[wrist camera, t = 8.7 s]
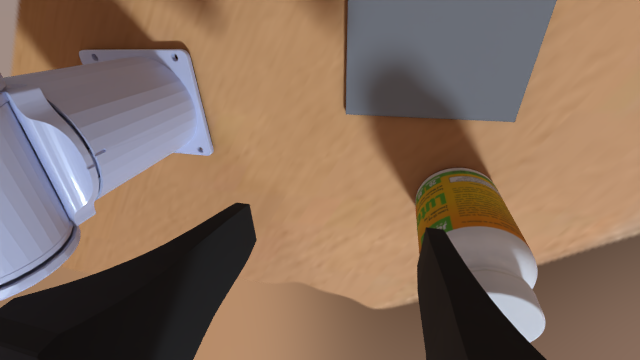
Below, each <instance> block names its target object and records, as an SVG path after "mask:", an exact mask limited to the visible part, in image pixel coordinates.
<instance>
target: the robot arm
mask: <svg viewBox="0 0 640 360" xmlns="http://www.w3.org/2000/svg"><path fill="white" fill-rule="evenodd" d="M175 54H176V55H177V57H178V60H177V59H176V57H175ZM79 57H80V59H81V62H82V64H83V65H78V66H72V67H66V68H60V69H54V70H48V71H42V72H36V73H30V74H23V75H17V76H11V77H5V78H3V77H2V75H1V73H0V301H1V300H3V299H5V298H8V297H11V296H13V295H15V294H17V293H19V292H22V291H24V290H26V289H27V288H29V287H31V286H33V285H35V284H36V283H38V282H39V281H41V280H42V279H44V278H45V277H47V276H48V275H50V274H51V273H52V272H54V271H55V270H56V269H57V268H59V267H60V266H61V265H62V264H63V263H64V262H65V261H66V260H67V259H68V258H69V257H70V256H71V255H72V253H73V252H74V251H75V249H76V247H77V246H78V244H79V241H80V228H79V226H78V225H80V224H81V223H83V222H84V221H86V220H87V219H89V218H90V217H92V216H93V215H95V214H96V211H95V208H94V201H95V200H97V199H99V198H100V197H102V196H103V195H105V194H107V193H108V192H110V191H112V190H113V189H115V188H116V187H118V186H120V185H121V184H123V183H125V182H126V181H128V180H129V179H131V178H133V177H134V176H136V175H137V174H139V173H141V172H142V171H144V170H146V169H147V168H149V167H150V166H152V165H154V164H155V163H157V162H159V161H160V160H162V159H163V158H165V157H167V156H168V155H170V154H172V153H184V154H195V155H206V156H208V155H210V154H212V153H213V146H212V142H211V138H210V134H209V130H208V126H207V122H206V118H205V114H204V110H203V106H202V102H201V98H200V94H199V90H198V86H197V82H196V78H195V74H194V70H193V66H192V62H191V58H190V55H189V53H188V52H187V51H186V50H184V49H113V50H81V51H80V52H79ZM97 57H98V58H97ZM200 147H201V148H202V149H203V150H201V148H200ZM255 242H256V235H255V230H254V225H253V220H252V215H251V210H250V205H249V204H243V203H235V204H233V205H231V206H230V207H228V208H226V209H224V210H223V211H221V212H219V213H218V214H216V215H215V216H213V217H211V218H210V219H208V220H206V221H205V222H203V223H201V224H200V225H198V226H196V227H195V228H193V229H191V230H189V231H188V232H186V233H184V234H182V235H180V236H179V237H177V238H175V239H173V240H171V241H170V242H168V243H166V244H164V245H162V246H160V247H158V248H156V249H154V250H152V251H149V252H147V253H145V254H143V255H141V256H139V257H136V258H134V259H132V260H129V261H127V262H124V263H122V264H119V265H117V266H114V267H112V268H109V269H107V270H104V271H102V272H99V273H96V274H93V275H90V276H88V277H85V278H82V279H79V280H76V281H73V282H70V283H66V284H63V285H60V286H57V287H53V288H49V289H46V290H42V291H39V292H35V293H32V294H28V295H25V296H21V297H17V298H14V299H12V300H11V301H9V302H8V303H7V304H6V305H4V306H3V307H1V308H0V360H193V359H194V357H195V355H196V352H197V350H198V348H199V346H200V344H201V342H202V339H203V337H204V335H205V333H206V331H207V329H208V327H209V325H210V323H211V321H212V319H213V317H214V315H215V313H216V312H217V310H218V308H219V306H220V305H221V303H222V301H223V300H224V298H225V297H226V294H227V293H228V292H229V290H230V288H231V287H232V285H233V284H234V282H235V280H236V279H237V277H238V275H239V274H240V272H241V271H242V269H243V267H244V266H245V264H246V262H247V260H248V258H249V256H250V254H251V252H252V249H253V247H254V245H255ZM417 280H418V297H419V305H420V312H421V320H422V327H423V335H424V342H425V350H426V360H546V359H545V358H544V357H543V356H542V355H541V354H540V353H539V352H538V351H537V350H536V349H535V348H534V347H533V346H532V345H531V344H530V343H529V342H528V340H527V339H526V338H525V337H524V336H523V335H522V334H521V333H520V332H519V331H518V330H517V329H516V327H515V326H514V325H513V324H512V323H511V322H510V321H509V320H508V318H507V317H506V316H505V315H504V314H503V313H502V311H501V310H500V309H499V308H498V307H497V305H496V304H495V303H494V302H493V300H492V299H491V298H490V297H489V295H488V294H487V293H486V291H485V290H484V289H483V288H482V286H481V285H480V284H479V282H478V281H477V279H476V278H475V277H474V275H473V274H472V272H471V271H470V270H469V268H468V267H467V265H466V264H465V262H464V261H463V259H462V258H461V256H460V255H459V253H458V252H457V250H456V248H455V247H454V245H453V244H452V242H451V240H450V239H449V237H448V235H447V234H446V232H445V231H444V230H443V229H436V228H428V227H426V229H425V233H424V238H423V242H422V247H421V251H420V256H419V261H418V265H417Z"/></svg>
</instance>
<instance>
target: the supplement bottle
mask: <svg viewBox="0 0 640 360" xmlns="http://www.w3.org/2000/svg"><path fill="white" fill-rule="evenodd" d="M415 202H416V204H415V205H416V219H417V231H418V242H419V254H420V251H421V247H422V242H423V238H424V233H425V229H426V227H428V228H436V229H443V230H444V231H445V232H446V234H447V235H448V237H449V239H450V240H451V242H452V244H453V245H454V247H455V248H456V250H457V252H458V253H459V255H460V256H461V258H462V259H463V261H464V262H465V264H466V265H467V267H468V268H469V270H470V271H471V272H472V274H473V275H474V277H475V278H476V279H477V281H478V282H479V284H480V285H481V286H482V288H483V289H484V290H485V291H486V293H487V294H488V295H489V297H490V298H491V299H492V300H493V302H494V303H495V304H496V305H497V307H498V308H499V309H500V310H501V311H502V313H503V314H504V315H505V316H506V317H507V318H508V320H509V321H510V322H511V323H512V324H513V325H514V326H515V327H516V329H517V330H518V331H519V332H520V333H521V334H522V335H523V336H524V337H525V338H526V339H527V340H528V342H529V343H530V342H531V341H533V340H535V339H536V338H538V337H539V336H540V334H541V333H542V332H543V330H544V328H545V317H544V314H543V312H542V309H541V307H540V305H539V303H538V300H537V297H536V295H535V293H534V292H533V290H532V288H533V287H534V285H535V282H536V279H537V265H536V261H535V259H534V256H533V254H532V252H531V250H530V248H529V246H528V244H527V242H526V241H525V239H524V237H523V235H522V233H521V232H520V230H519V228H518V226H517V224H516V223H515V221H514V219H513V217H512V215H511V214H510V212H509V210H508V208H507V207H506V205H505V203H504V201H503V199H502V197H501V195H500V194H499V192H498V190H497V188H496V187H495V185H494V183H493V182H492V181H491V180H490V179H489V178H488V177H487V176H485V175H484V174H482V173H480V172H478V171H475V170H472V169H468V168H451V169H445V170H442V171H439V172H437V173H435V174H433V175H431V176H430V177H428V178H427V179H426V180H425V181H424V182H423V183H422V184H421V186H420V187H419V189H418V192H417V194H416V201H415Z"/></svg>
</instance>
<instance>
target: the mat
mask: <svg viewBox="0 0 640 360" xmlns="http://www.w3.org/2000/svg"><path fill="white" fill-rule="evenodd" d="M556 1H557V0H348V26H347V78H346V114H353V115H375V116H396V117H418V118H440V119H461V120H483V121H504V122H515V119H516V116H517V113H518V110H519V108H520V105H521V102H522V99H523V96H524V93H525V90H526V87H527V84H528V82H529V79H530V76H531V73H532V70H533V67H534V64H535V61H536V58H537V56H538V53H539V50H540V47H541V44H542V41H543V38H544V35H545V32H546V30H547V27H548V24H549V21H550V18H551V15H552V12H553V9H554V6H555V4H556Z"/></svg>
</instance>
